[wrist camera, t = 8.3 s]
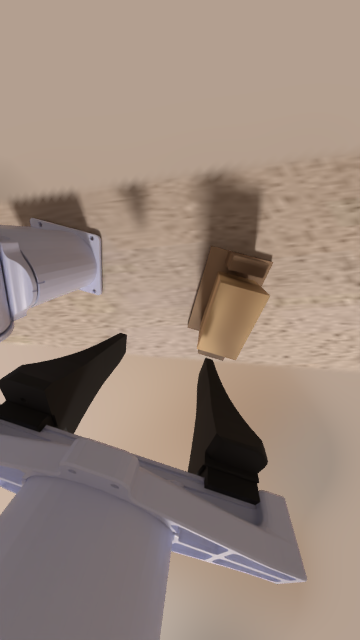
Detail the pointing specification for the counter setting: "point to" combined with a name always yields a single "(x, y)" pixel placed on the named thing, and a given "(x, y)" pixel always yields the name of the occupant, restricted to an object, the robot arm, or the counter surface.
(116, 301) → the counter surface
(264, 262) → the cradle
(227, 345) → the block
